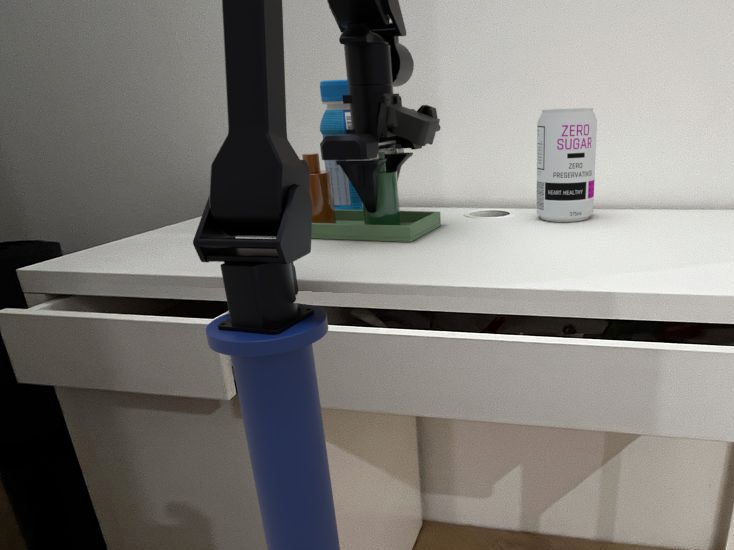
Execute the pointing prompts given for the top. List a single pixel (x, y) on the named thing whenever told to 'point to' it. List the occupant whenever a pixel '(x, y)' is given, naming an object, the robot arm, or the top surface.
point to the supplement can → (566, 164)
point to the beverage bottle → (334, 124)
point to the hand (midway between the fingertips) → (380, 209)
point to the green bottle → (385, 199)
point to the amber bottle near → (320, 191)
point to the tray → (377, 227)
